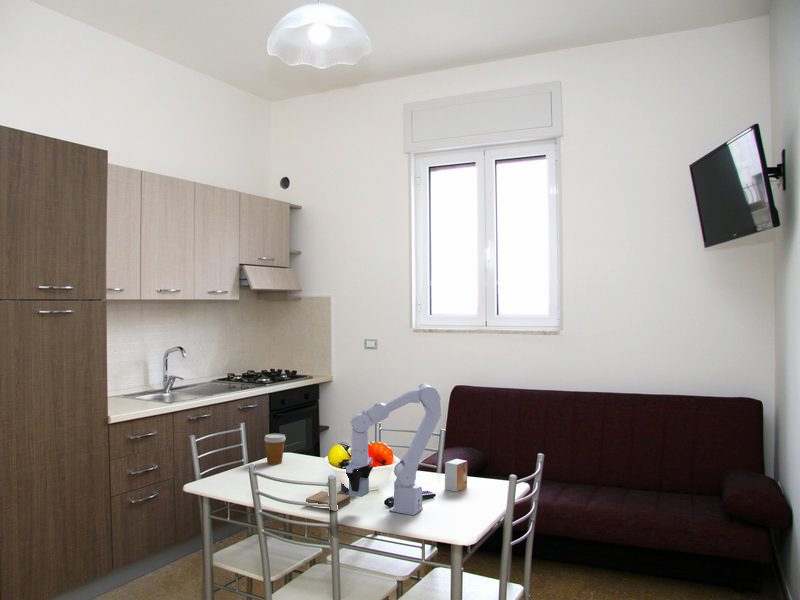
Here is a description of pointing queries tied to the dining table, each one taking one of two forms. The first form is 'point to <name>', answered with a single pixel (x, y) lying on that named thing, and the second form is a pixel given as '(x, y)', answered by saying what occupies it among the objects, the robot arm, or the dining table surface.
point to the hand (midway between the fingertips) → (359, 488)
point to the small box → (456, 475)
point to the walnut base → (324, 499)
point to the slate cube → (360, 488)
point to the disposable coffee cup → (274, 448)
